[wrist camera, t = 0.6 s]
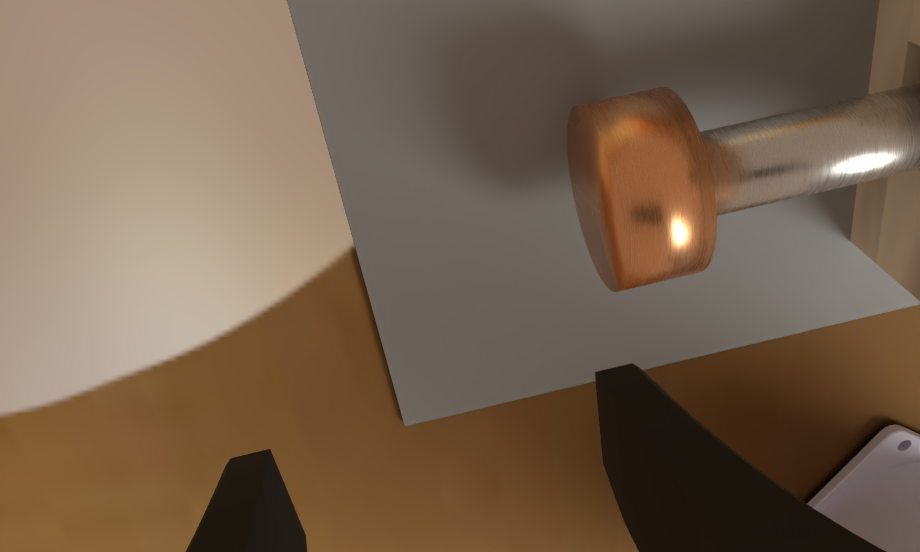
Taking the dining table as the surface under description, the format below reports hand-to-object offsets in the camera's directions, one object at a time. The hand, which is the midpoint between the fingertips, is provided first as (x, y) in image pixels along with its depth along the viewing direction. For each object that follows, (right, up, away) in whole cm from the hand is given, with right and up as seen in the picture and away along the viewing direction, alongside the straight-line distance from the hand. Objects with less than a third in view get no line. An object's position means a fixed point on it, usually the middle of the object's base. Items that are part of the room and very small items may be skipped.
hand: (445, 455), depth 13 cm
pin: (+8, +7, +8) cm, 13 cm away
